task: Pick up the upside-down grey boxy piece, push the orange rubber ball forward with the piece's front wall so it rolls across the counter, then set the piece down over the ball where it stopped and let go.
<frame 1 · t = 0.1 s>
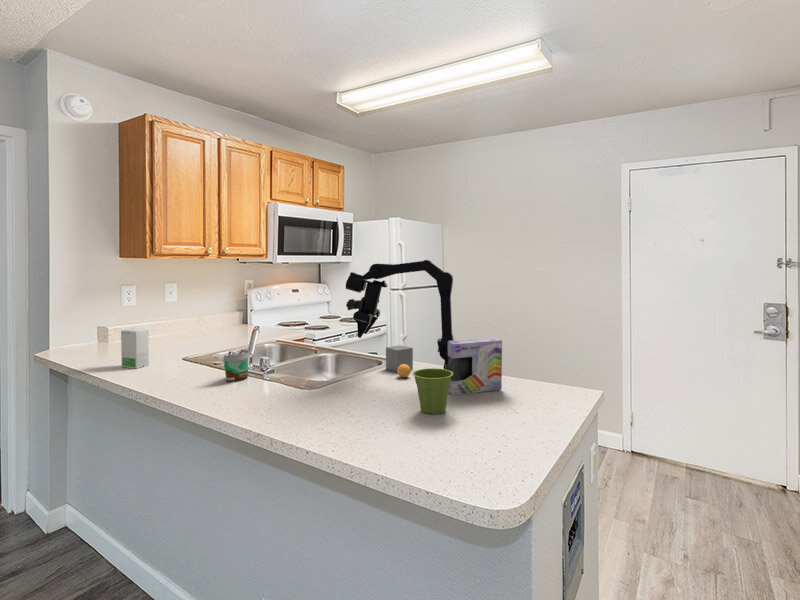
hand: (362, 335, 170), 15 cm above the countertop, tool pointing down, fingers open, 9 cm apart
ball: (403, 370, 168), on the countertop
grey boxy piece: (399, 369, 181), on the countertop
food container: (241, 379, 166), on the countertop
plant pot: (432, 411, 131), on the countertop
skincare box: (136, 367, 186), on the countertop
cake pan box: (473, 392, 150), on the countertop
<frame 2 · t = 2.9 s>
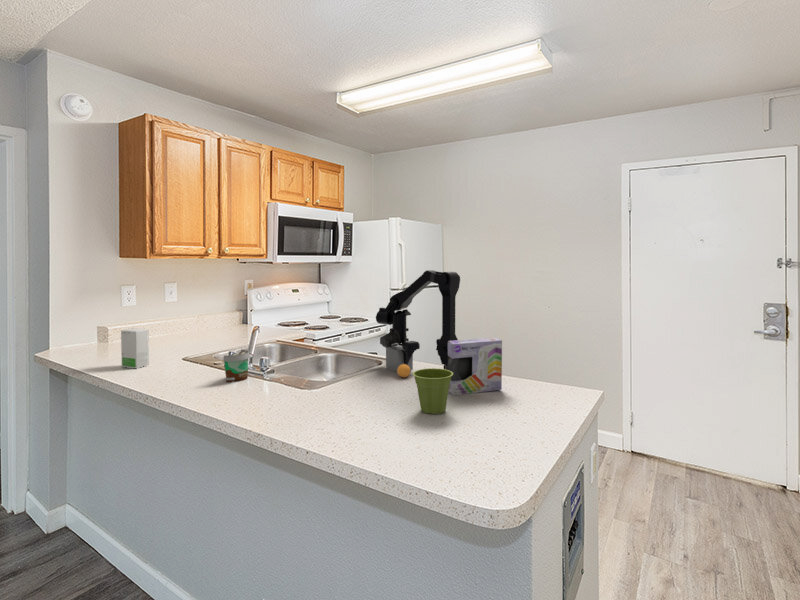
hand: (399, 364, 181), 2 cm above the countertop, tool pointing down, fingers closed on grey boxy piece, 8 cm apart
grey boxy piece: (399, 369, 181), on the countertop, touching gripper
everything else where it was.
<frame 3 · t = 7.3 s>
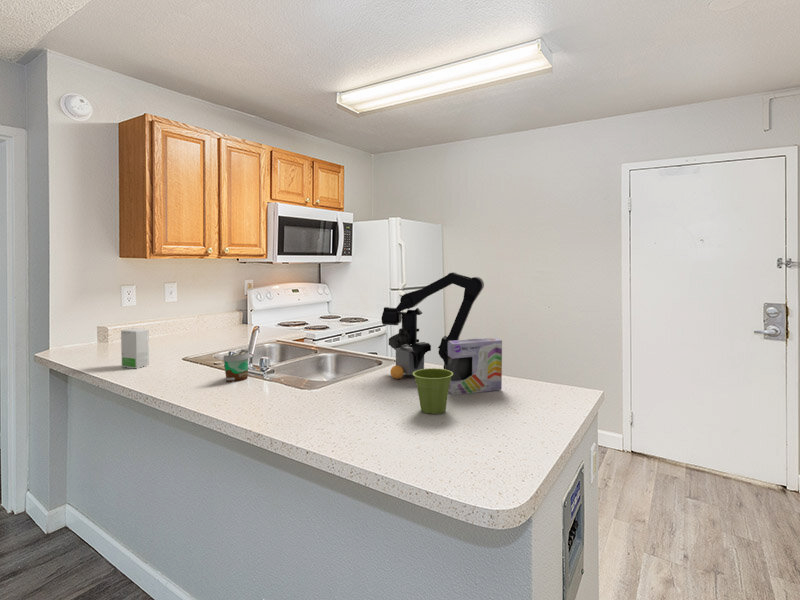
hand: (409, 366, 170), 4 cm above the countertop, tool pointing down, fingers closed on grey boxy piece, 8 cm apart
ball: (397, 372, 166), on the countertop
grey boxy piece: (409, 371, 170), point 2 cm above the countertop, touching gripper
everything else where it was.
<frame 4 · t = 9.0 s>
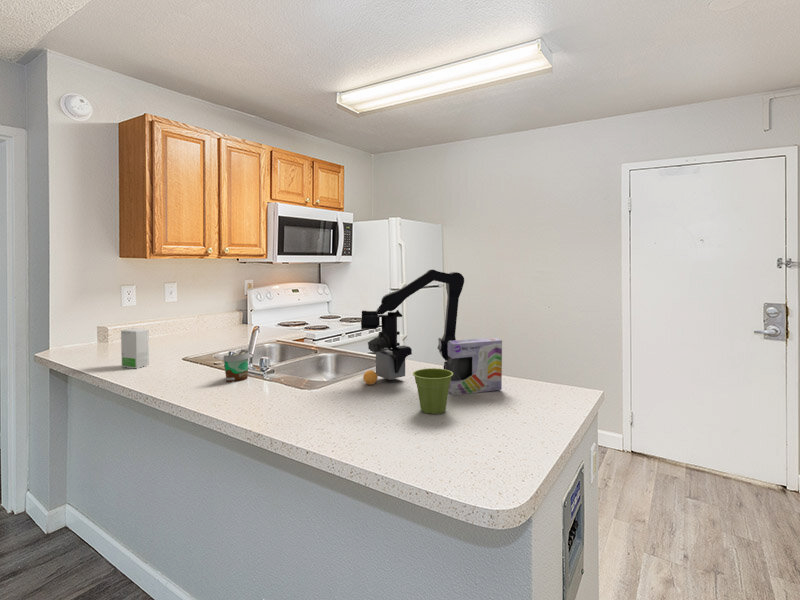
hand: (389, 371, 164), 3 cm above the countertop, tool pointing down, fingers closed on grey boxy piece, 8 cm apart
ball: (370, 377, 158), on the countertop
grey boxy piece: (390, 375, 164), point 2 cm above the countertop, touching gripper
everything else where it was.
when the fingers open (2 cm above the countertop, at t = 16.4 s): grey boxy piece stays where it is, on the countertop.
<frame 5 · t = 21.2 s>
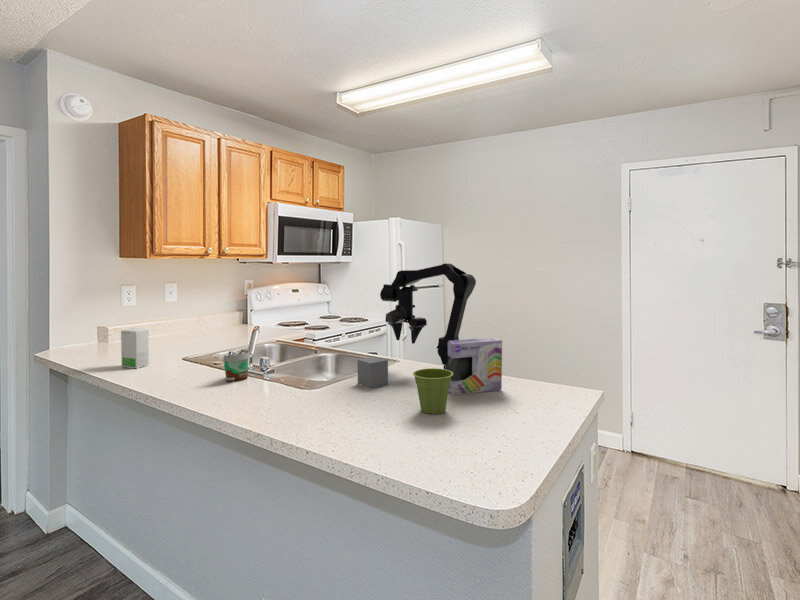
hand: (405, 341, 176), 12 cm above the countertop, tool pointing down, fingers open, 9 cm apart
grey boxy piece: (372, 384, 159), on the countertop
everything else where it was.
at the end: ball 0.9 cm from the grey boxy piece (horizontally); grey boxy piece on the countertop; ball moved 15.5 cm from its start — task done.
